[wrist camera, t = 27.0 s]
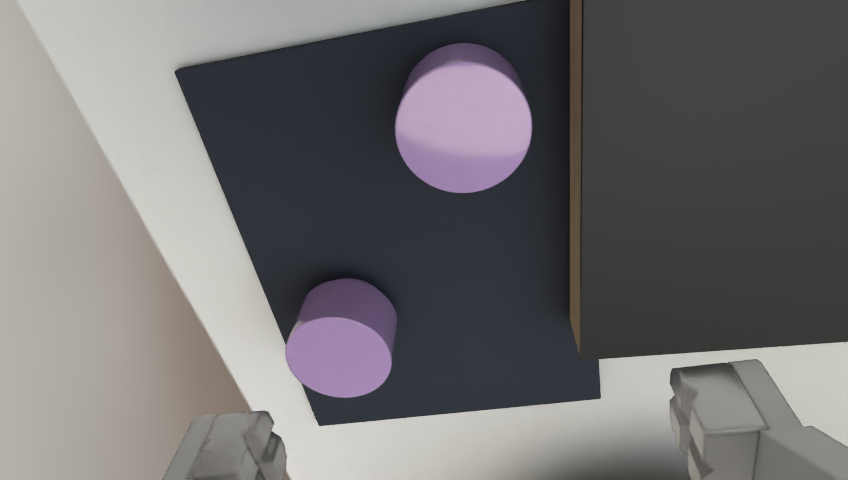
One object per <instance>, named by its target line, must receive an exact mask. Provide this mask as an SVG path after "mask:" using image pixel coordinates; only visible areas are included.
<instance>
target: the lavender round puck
mask: <svg viewBox="0 0 848 480" xmlns="http://www.w3.org/2000/svg"><path fill="white" fill-rule="evenodd" d="M396 331H397V315H396V312H395V309H394V307H393V305H392V303H391V302H390V301H389V299H388V298H387V297H386V296H385V295H384V294H383V293H381V292H380V291H379V290H378V289H377V288H376V287H374V286H373V285H371V284H369V283H367V282H365V281H362V280H359V279H353V278H342V279H336V280H333V281H328V282H325V283H323V284H320V285H318V286H317V287H315V288H314V289H312V290H311V291H310V292H309V293H308V294H307V295H306V297H305V298H304V300H303V302H302V305H301V307H300V310H299V312H298V315H297V318H296V320H295V323H294V325H293V328H292V331H291V333H290V336H289V339H288V341H287V344H286V351H285V354H286V360H287V363H288V366H289V368H290V370H291V371H292V373H293V374H294V375H295V377H296V378H297V379H298V380H299V381H300V382H302V383H303V384H304V385H306V386H307V387H309V388H310V389H312V390H314V391H316V392H319V393H321V394H324V395H328V396H332V397H342V398H348V397H357V396H361V395H365V394H367V393H370V392H372V391H374V390H375V389H377V388H378V387H379V386H381V385H382V384H383V383H384V381H385V380H386V379H387V377H388V375H389V373H390V370H391V366H392V359H393V352H394V345H395V338H396Z"/></svg>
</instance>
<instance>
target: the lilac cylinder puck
mask: <svg viewBox="0 0 848 480" xmlns="http://www.w3.org/2000/svg"><path fill="white" fill-rule="evenodd" d="M395 137H396V143H397V146H398V150H399V152H400V154H401V156H402V158H403V160H404V162H405V163H406V165H407V166H408V167H409V169H410V170H411V171H412V172H413V173H414V174H415V175H416V176H417V177H418V178H420V179H421V180H423V181H424V182H425V183H427V184H429V185H431V186H433V187H435V188H438V189H440V190H444V191H448V192H454V193H471V192H477V191H482V190H485V189H488V188H490V187H492V186H494V185H497V184H498V183H500V182H501V181H503V180H505V179H506V178H507V177H508V176H509V175H511V174H512V173H513V172H514V171H515V170H516V169H517V167H518V166H519V165H520V163H521V162H522V160H523V159H524V157H525V155H526V153H527V151H528V148H529V145H530V141H531V137H532V116H531V111H530V108H529V105H528V102H527V98H526V95H525V92H524V89H523V86H522V83H521V80H520V78H519V76H518V74H517V72H516V71H515V69H514V68H513V66H512V65H511V64H510V63H509V62H508V61H507V60H506V59H505V58H504V57H503V56H501V55H500V54H498V53H497V52H495V51H494V50H492V49H489V48H487V47H484V46H481V45H477V44H470V43H459V44H451V45H448V46H444V47H441V48H439V49H437V50H435V51H433V52H431V53H429V54H428V55H427V56H425V57H424V58H423V59H422V60H421V61H420V62H419V63H418V64H417V65H416V66H415V67H414V69H413V70H412V71H411V73H410V75H409V76H408V78H407V81H406V83H405V86H404V89H403V93H402V96H401V100H400V103H399V107H398V110H397V114H396V119H395Z"/></svg>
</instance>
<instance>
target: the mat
mask: <svg viewBox="0 0 848 480" xmlns="http://www.w3.org/2000/svg"><path fill="white" fill-rule="evenodd" d="M459 43H470V44H477V45H481V46H484V47H487V48H489V49H492V50H494V51H495V52H497V53H498V54H500V55H501V56H503V57H504V58H505V59H506V60H507V61H508V62H509V63H510V64H511V65H512V66H513V68H514V69H515V71H516V72H517V74H518V76H519V78H520V80H521V83H522V86H523V89H524V92H525V95H526V98H527V102H528V105H529V108H530V111H531V116H532V137H531V141H530V145H529V148H528V151H527V153H526V155H525V157H524V159H523V160H522V162H521V163H520V165H519V166H518V167H517V169H516V170H515V171H514V172H513V173H512V174H511V175H509V176H508V177H507V178H506V179H505V180H503V181H501V182H500V183H498V184H497V185H494V186H492V187H490V188H488V189H485V190H482V191H477V192H471V193H454V192H448V191H444V190H440V189H438V188H435V187H433V186H431V185H429V184H427V183H425V182H424V181H423V180H421V179H420V178H418V177H417V176H416V175H415V174H414V173H413V172H412V171H411V170H410V169H409V167H408V166H407V165H406V163H405V162H404V160H403V158H402V156H401V154H400V152H399V150H398V146H397V143H396V137H395V119H396V114H397V110H398V107H399V103H400V100H401V96H402V93H403V89H404V86H405V83H406V81H407V78H408V76H409V75H410V73H411V71H412V70H413V69H414V67H415V66H416V65H417V64H418V63H419V62H420V61H421V60H422V59H423V58H424V57H425V56H427V55H428V54H429V53H431V52H433V51H435V50H437V49H439V48H441V47H444V46H448V45H451V44H459ZM175 74H176V77H177V79H178V82H179V84H180V87H181V89H182V92H183V94H184V96H185V99H186V101H187V104H188V106H189V109H190V111H191V114H192V116H193V118H194V121H195V123H196V126H197V128H198V131H199V133H200V136H201V138H202V141H203V143H204V145H205V148H206V150H207V153H208V155H209V158H210V160H211V163H212V165H213V167H214V170H215V172H216V175H217V177H218V180H219V182H220V185H221V187H222V190H223V192H224V194H225V197H226V199H227V202H228V204H229V207H230V209H231V212H232V214H233V216H234V219H235V221H236V224H237V226H238V229H239V231H240V234H241V236H242V238H243V241H244V243H245V246H246V248H247V251H248V253H249V256H250V258H251V261H252V263H253V265H254V268H255V270H256V273H257V275H258V278H259V280H260V283H261V285H262V287H263V290H264V292H265V295H266V297H267V300H268V302H269V305H270V307H271V310H272V312H273V314H274V317H275V319H276V322H277V324H278V327H279V329H280V332H281V334H282V336H283V339H284V341H285V344H287V341H288V339H289V336H290V333H291V331H292V328H293V325H294V323H295V320H296V318H297V315H298V312H299V310H300V307H301V305H302V302H303V300H304V298H305V297H306V295H307V294H308V293H309V292H310V291H311V290H312V289H314V288H315V287H317V286H318V285H320V284H323V283H325V282H328V281H333V280H336V279H342V278H353V279H359V280H362V281H365V282H367V283H369V284H371V285H373V286H374V287H376V288H377V289H378V290H379V291H380V292H381V293H383V294H384V295H385V296H386V297H387V298H388V299H389V301H390V302H391V303H392V305H393V307H394V309H395V312H396V315H397V331H396V338H395V345H394V352H393V359H392V366H391V370H390V373H389V375H388V377H387V379H386V380H385V381H384V383H383V384H382V385H381V386H379V387H378V388H377V389H375V390H374V391H372V392H370V393H367V394H365V395H361V396H357V397H348V398H342V397H332V396H328V395H324V394H321V393H319V392H316V391H314V390H312V389H310V388H309V387H307V386H306V385H304V384H303V383H302V382H301V383H302V385H303V388H304V390H305V393H306V395H307V398H308V400H309V403H310V405H311V407H312V410H313V412H314V415H315V417H316V420H317V422H318V425H319V426H324V425H335V424H345V423H355V422H366V421H376V420H386V419H396V418H407V417H417V416H427V415H437V414H448V413H458V412H468V411H479V410H489V409H499V408H509V407H520V406H530V405H540V404H551V403H561V402H571V401H581V400H592V399H600V398H601V394H600V377H599V360H598V359H591V360H580V355H579V350H578V348H577V344H576V342H575V336H574V332H573V327H571V322H569V239H568V0H526V1H520V2H515V3H510V4H505V5H500V6H495V7H490V8H485V9H480V10H475V11H470V12H464V13H459V14H454V15H449V16H444V17H439V18H434V19H429V20H424V21H419V22H414V23H409V24H403V25H398V26H393V27H388V28H383V29H378V30H373V31H368V32H363V33H358V34H353V35H347V36H342V37H337V38H332V39H327V40H322V41H317V42H312V43H307V44H302V45H297V46H291V47H286V48H281V49H276V50H271V51H266V52H261V53H256V54H251V55H246V56H241V57H235V58H230V59H225V60H220V61H215V62H210V63H205V64H200V65H195V66H190V67H185V68H179V69H178V70H176V71H175Z"/></svg>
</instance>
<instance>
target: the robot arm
mask: <svg viewBox="0 0 848 480" xmlns="http://www.w3.org/2000/svg"><path fill="white" fill-rule="evenodd" d="M670 385H671V387H672V389H673V392H674V394H675V395H674V397H673V398H672V399H671V400H670V417H671V424H672V429H673V432H674V436H675V439H676V442H677V445H678V447H679V450H680V451H681V452H683V453H684V454H685V455H687V456H688V473H689V475H690V478H691V480H848V447H847V446H845V445H843V444H842V443H840V442H838V441H837V440H835V439H833V438H832V437H830V436H828V435H826V434H825V433H823V432H821V431H820V430H818V429H816V428H814V427H813V426H806V427H803V426H802V424H801V423H800V421H799V420H798V418H797V417H796V415H795V413H794V412H793V410H792V409H791V407H790V406H789V404H788V403H787V401H786V400H785V398H784V397H783V395H782V393H781V392H780V390H779V389H778V387H777V386H776V384H775V383H774V381H773V380H772V378H771V377H770V375H769V373H768V372H767V370H766V369H765V367H764V366H763V364H762V363H761V362H760V361H758V360H757V359H753V360H744V361H735V362H728V363H718V364H709V365H700V366H691V367H682V368H673V369H672V371H671V374H670ZM273 424H274V421H273V420H272V418H271V416H270V414H269V412H267V411H253V412H240V413H226V414H220V415H206V416H198V417H197V418H196V419H194V420H193V421H192V423H191V424H190V426H189V428H188V430H187V432H186V434H185V436H184V438H183V440H182V442H181V444H180V446H179V448H178V450H177V452H176V454H175V456H174V458H173V459H172V461H171V463H170V465H169V467H168V469H167V471H166V473H165V475H164V477H163V479H162V480H283V479H284V475H285V472H286V458H287V455H286V450H285V445H284V443H283V441H282V439H281V437H280V436H278V435H277V434H275V433H274V432H272V431H271V430H272V427H273Z"/></svg>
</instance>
